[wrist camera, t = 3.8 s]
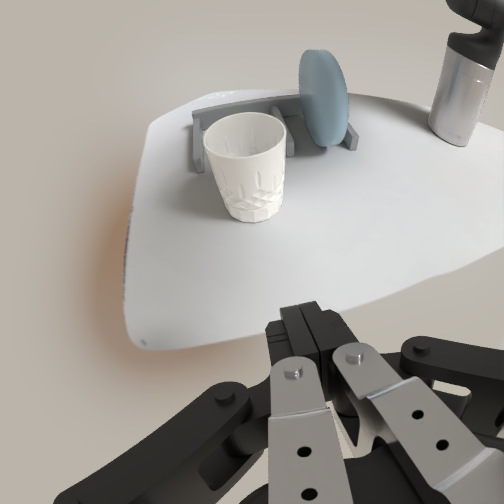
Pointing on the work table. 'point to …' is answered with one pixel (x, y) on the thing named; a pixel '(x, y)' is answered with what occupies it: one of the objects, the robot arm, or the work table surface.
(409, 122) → the work table surface
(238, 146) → the white cup
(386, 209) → the work table surface
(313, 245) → the work table surface
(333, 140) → the dish rack
